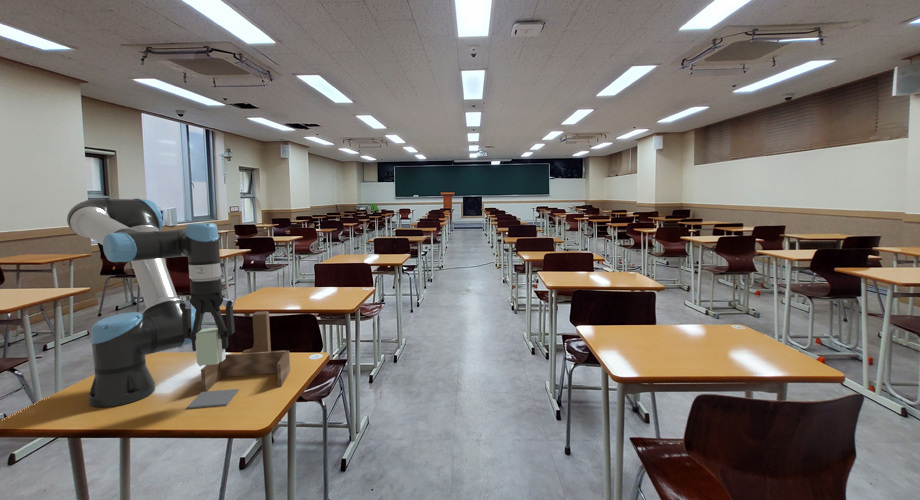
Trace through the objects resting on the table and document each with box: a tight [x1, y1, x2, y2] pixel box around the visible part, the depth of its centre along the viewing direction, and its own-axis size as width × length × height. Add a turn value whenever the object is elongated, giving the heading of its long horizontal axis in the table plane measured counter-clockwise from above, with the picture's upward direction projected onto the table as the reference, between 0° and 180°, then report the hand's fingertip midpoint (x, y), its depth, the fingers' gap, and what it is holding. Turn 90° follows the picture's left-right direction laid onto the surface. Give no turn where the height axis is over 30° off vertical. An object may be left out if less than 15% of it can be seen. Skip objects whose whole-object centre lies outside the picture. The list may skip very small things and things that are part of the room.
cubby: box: [200, 350, 291, 392], centre depth 135 cm, size 22×13×7 cm, turn 100°
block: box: [196, 327, 220, 367], centre depth 121 cm, size 5×5×9 cm
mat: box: [186, 388, 239, 410], centre depth 123 cm, size 10×10×1 cm
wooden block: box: [241, 310, 272, 353], centre depth 150 cm, size 9×4×18 cm, turn 103°
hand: (211, 360), depth 121 cm, fingers closed on block, 5 cm apart
